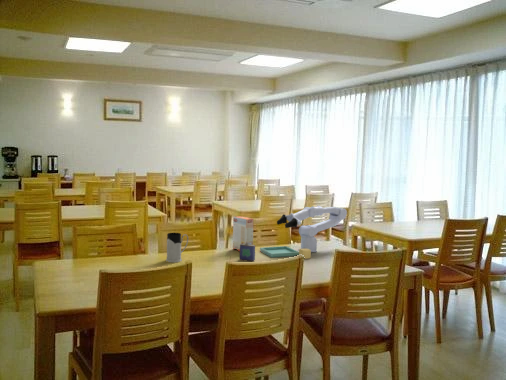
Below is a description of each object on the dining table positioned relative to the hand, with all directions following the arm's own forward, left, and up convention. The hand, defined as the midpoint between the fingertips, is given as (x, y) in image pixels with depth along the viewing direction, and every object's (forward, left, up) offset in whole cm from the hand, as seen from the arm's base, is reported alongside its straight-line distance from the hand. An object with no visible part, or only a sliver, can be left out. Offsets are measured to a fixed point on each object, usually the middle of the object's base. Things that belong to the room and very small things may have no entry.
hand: (281, 224), depth 274 cm
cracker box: (+18, -17, -19) cm, 31 cm away
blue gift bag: (+24, +7, -19) cm, 31 cm away
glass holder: (+61, -5, -19) cm, 64 cm away
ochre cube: (-11, +10, -18) cm, 24 cm away
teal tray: (-1, -4, -18) cm, 19 cm away
